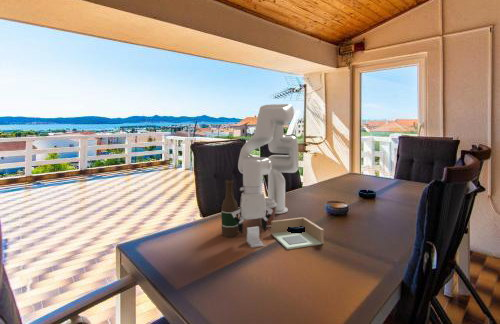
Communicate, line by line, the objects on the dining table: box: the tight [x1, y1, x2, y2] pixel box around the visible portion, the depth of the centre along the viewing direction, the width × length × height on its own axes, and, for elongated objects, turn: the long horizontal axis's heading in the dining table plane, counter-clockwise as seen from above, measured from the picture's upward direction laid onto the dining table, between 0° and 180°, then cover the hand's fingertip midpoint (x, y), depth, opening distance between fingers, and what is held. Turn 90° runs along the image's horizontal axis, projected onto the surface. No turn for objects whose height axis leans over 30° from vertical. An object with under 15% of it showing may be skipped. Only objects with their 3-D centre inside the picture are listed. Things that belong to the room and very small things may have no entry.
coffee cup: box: [259, 198, 277, 228], centre depth 129 cm, size 9×9×12 cm
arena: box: [270, 216, 325, 250], centre depth 112 cm, size 16×16×6 cm
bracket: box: [246, 225, 264, 248], centre depth 108 cm, size 6×5×6 cm
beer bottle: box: [220, 179, 239, 238], centre depth 117 cm, size 8×8×24 cm
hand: (252, 231), depth 109 cm, fingers open, 9 cm apart
